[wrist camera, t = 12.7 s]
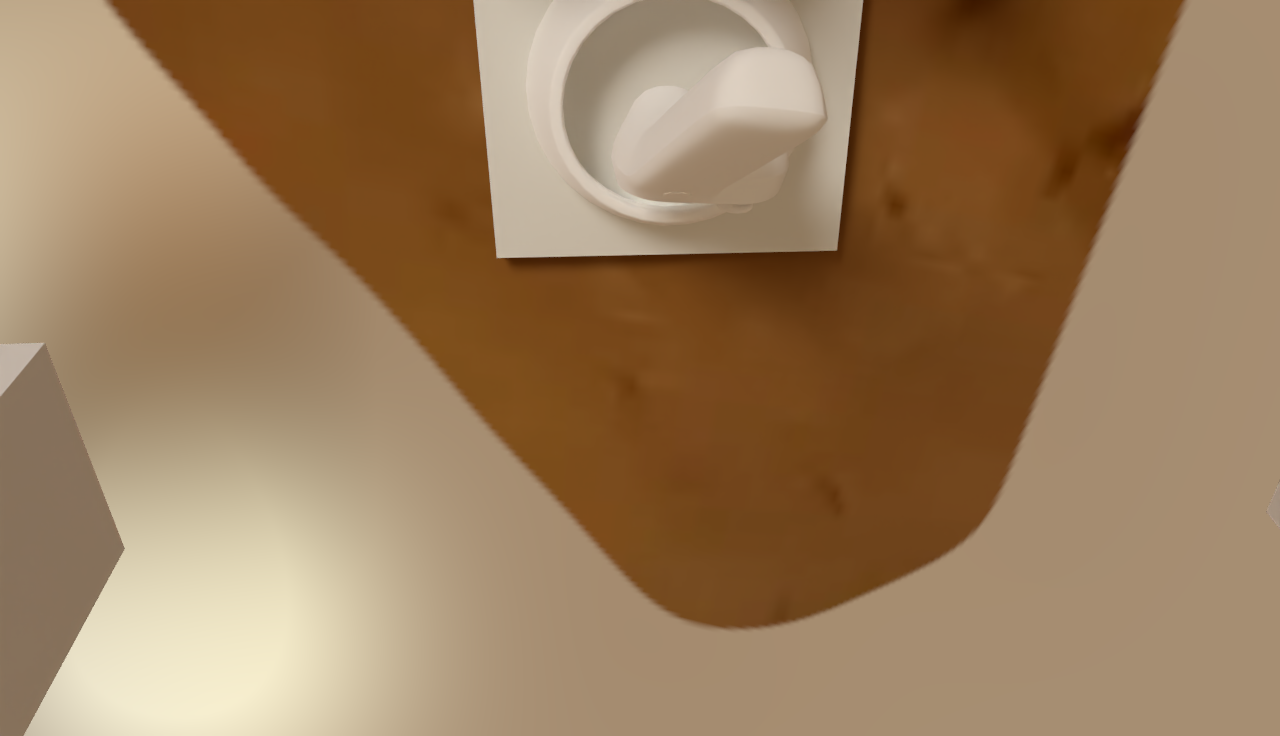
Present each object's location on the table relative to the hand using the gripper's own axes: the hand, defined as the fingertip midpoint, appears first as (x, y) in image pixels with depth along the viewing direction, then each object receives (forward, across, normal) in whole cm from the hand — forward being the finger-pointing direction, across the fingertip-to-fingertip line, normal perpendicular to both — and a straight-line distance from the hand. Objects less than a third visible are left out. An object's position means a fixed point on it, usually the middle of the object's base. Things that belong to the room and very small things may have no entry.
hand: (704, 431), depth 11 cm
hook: (+19, +1, -3) cm, 19 cm away
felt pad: (+19, +1, -2) cm, 19 cm away
